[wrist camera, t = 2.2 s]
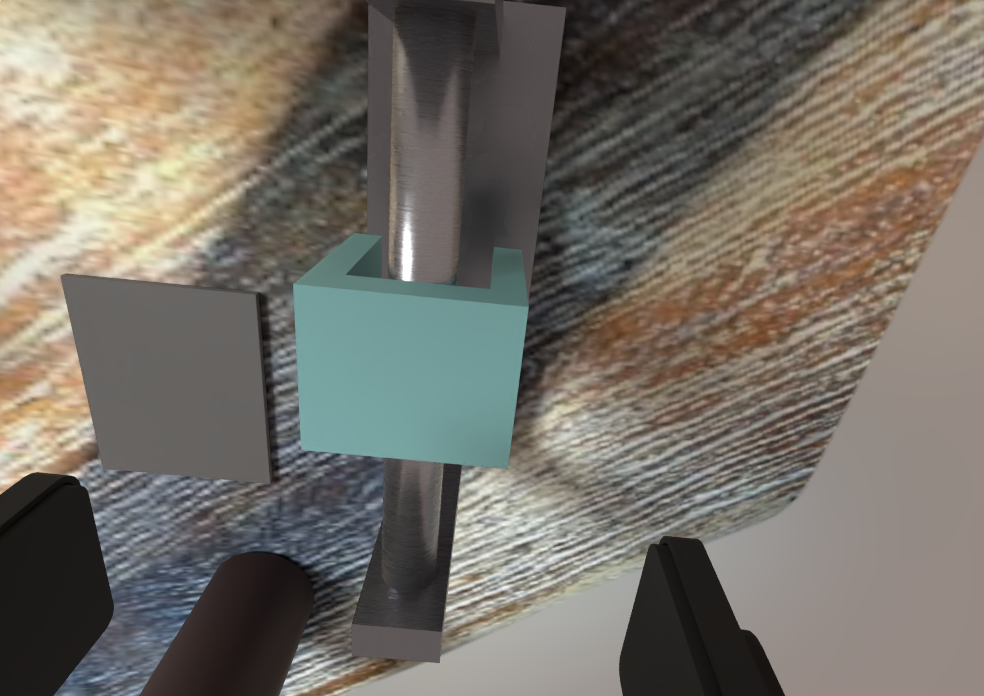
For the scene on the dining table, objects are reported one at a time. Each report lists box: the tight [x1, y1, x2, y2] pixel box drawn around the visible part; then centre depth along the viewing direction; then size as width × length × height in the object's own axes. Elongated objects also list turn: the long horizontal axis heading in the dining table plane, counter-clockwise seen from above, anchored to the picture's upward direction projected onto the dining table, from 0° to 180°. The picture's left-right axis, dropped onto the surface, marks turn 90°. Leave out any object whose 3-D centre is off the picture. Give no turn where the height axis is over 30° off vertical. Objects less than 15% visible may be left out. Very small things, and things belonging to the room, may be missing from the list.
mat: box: [61, 274, 273, 484], centre depth 31 cm, size 12×10×1 cm
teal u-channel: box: [293, 233, 529, 469], centre depth 18 cm, size 5×6×6 cm
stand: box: [352, 0, 566, 663], centre depth 22 cm, size 22×8×14 cm, turn 175°
